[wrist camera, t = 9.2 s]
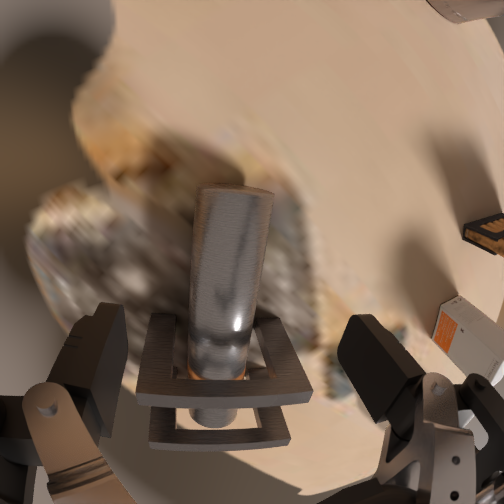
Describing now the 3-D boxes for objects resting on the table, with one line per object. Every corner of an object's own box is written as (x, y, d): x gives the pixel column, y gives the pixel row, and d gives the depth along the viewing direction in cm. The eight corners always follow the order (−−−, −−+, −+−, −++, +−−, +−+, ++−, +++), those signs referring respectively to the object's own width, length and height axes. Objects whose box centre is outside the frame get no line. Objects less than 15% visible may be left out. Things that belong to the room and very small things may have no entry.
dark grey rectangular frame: (155, 365, 23) (148, 441, 15) (267, 368, 25) (291, 438, 17) (156, 374, 23) (150, 448, 15) (265, 376, 25) (287, 445, 18)
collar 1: (151, 313, 21) (135, 392, 13) (279, 317, 23) (313, 390, 15) (152, 325, 21) (138, 404, 13) (276, 329, 23) (308, 402, 16)
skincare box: (439, 304, 27) (503, 360, 16) (459, 293, 28) (521, 342, 17) (429, 341, 30) (482, 396, 19) (449, 329, 30) (501, 379, 19)
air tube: (197, 180, 18) (195, 191, 14) (265, 187, 19) (284, 200, 14) (188, 391, 24) (189, 428, 20) (233, 391, 25) (240, 427, 21)
